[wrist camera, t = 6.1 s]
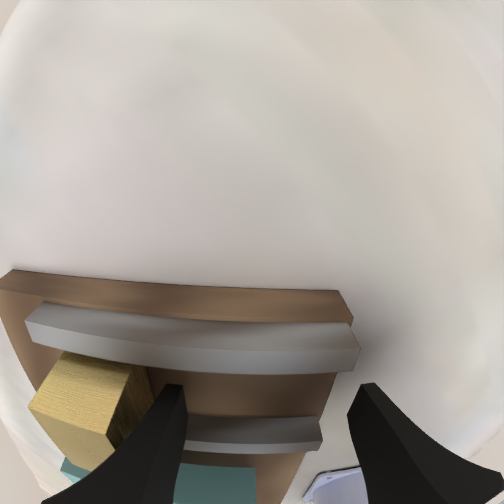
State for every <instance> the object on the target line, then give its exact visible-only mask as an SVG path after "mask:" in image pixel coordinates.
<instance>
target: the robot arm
mask: <svg viewBox="0 0 504 504" xmlns="http://www.w3.org/2000/svg"><path fill="white" fill-rule="evenodd" d="M347 418H348V424H349V430H350V435H351V438H352V442H353V445H354V448H355V451H356V454H357V458H358V461H359V464H360V467H359V468H354V469H348V470H343V471H336V472H330V473H323V474H320V475H318V476H317V478H316V479H315V481H314V482H313V484H312V485H311V487H310V488H309V490H308V491H307V493H306V494H305V496H304V497H303V498H302V501H303V502H310V501H314V504H485V503H487V502H488V501H489V500H491V499H492V498H494V497H495V496H496V495H498V494H499V493H500V492H502V491H503V490H504V479H503V477H502V475H501V473H500V472H497V471H493V470H490V469H487V468H483V467H481V466H479V465H476V464H474V463H471V462H469V461H467V460H465V459H463V458H461V457H459V456H458V455H456V454H454V453H452V452H451V451H449V450H448V449H446V448H444V447H443V446H442V445H440V444H439V443H437V442H436V441H435V440H433V439H432V438H431V437H429V436H428V435H427V434H426V433H425V432H423V431H422V430H421V429H420V428H419V427H418V426H417V425H415V424H414V423H413V422H412V421H411V420H410V419H409V418H408V417H407V416H406V415H405V414H404V413H403V412H402V411H401V410H400V409H399V408H398V407H397V406H396V405H395V404H394V403H393V402H392V401H391V400H390V398H389V397H388V396H387V395H386V394H385V393H384V392H383V391H382V390H381V389H380V388H379V387H378V386H377V385H376V384H375V383H367V384H361V385H360V387H359V390H358V392H357V394H356V396H355V399H354V401H353V403H352V405H351V407H350V409H349V411H348V413H347ZM187 422H188V412H187V407H186V401H185V395H184V389H183V385H178V384H169V383H167V384H165V385H164V387H163V388H162V390H161V392H160V393H159V395H158V397H157V398H156V400H155V401H154V403H153V404H152V406H151V407H150V409H149V410H148V412H147V413H146V414H145V416H144V417H143V418H142V420H141V421H140V422H139V424H138V425H137V426H136V428H135V429H134V430H133V431H132V432H131V433H130V435H129V436H128V437H127V438H126V439H125V441H124V442H123V443H122V444H121V445H120V446H119V447H118V448H117V449H116V450H115V451H114V452H113V453H112V454H111V455H110V456H109V457H108V458H107V459H106V460H105V461H104V462H102V463H101V464H100V465H99V466H98V467H97V468H95V469H94V470H93V471H92V472H90V473H89V474H88V475H86V476H85V477H84V478H82V479H81V480H79V481H78V482H76V483H75V484H73V485H72V486H70V487H68V488H67V489H65V490H63V491H61V492H59V493H58V494H56V495H54V496H52V497H50V498H47V499H46V500H43V501H42V502H41V504H173V498H174V490H175V484H176V479H177V475H178V470H179V466H180V462H181V457H182V453H183V448H184V444H185V440H186V432H187ZM499 504H504V501H502V502H501V503H499Z"/></svg>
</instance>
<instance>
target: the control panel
mask: <svg viewBox="0 0 504 504" xmlns="http://www.w3.org/2000/svg"><path fill="white" fill-rule="evenodd" d="M0 317H1V320H2V322H3V325H4V327H5V330H6V332H7V334H8V337H9V339H10V341H11V344H12V346H13V348H14V350H15V352H16V355H17V357H18V359H19V361H20V363H21V365H22V367H23V369H24V371H25V372H26V374H27V376H28V378H29V380H30V382H31V383H32V385H33V387H34V389H35V390H36V392H37V391H38V389H39V388H40V386H41V385H42V383H43V382H44V380H45V379H46V377H47V376H48V374H49V373H50V371H51V370H52V368H53V367H54V365H55V364H56V362H57V361H58V359H59V358H60V357H61V355H62V354H63V352H64V351H69V352H74V353H78V354H82V355H87V356H92V357H97V358H102V359H107V360H112V361H118V362H124V363H130V364H136V365H143V366H145V367H146V371H147V375H148V379H149V383H150V387H151V390H152V394H153V397H154V401H155V400H156V398H157V397H158V395H159V393H160V392H161V390H162V388H163V387H164V385H165V384H167V383H169V384H178V385H183V389H184V395H185V401H186V407H187V412H188V422H187V432H186V440H185V444H184V448H183V453H182V457H181V462H180V463H185V464H194V465H204V466H217V467H239V468H255V474H256V502H257V504H281V502H282V500H283V498H284V496H285V494H286V492H287V490H288V488H289V487H290V485H291V483H292V481H293V479H294V477H295V475H296V472H297V470H298V468H299V466H300V464H301V462H302V460H303V458H304V455H305V453H306V452H308V451H318V449H319V447H320V445H321V443H322V441H323V438H322V434H321V430H320V425H319V420H320V418H321V415H322V413H323V410H324V407H325V405H326V402H327V399H328V397H329V394H330V391H331V388H332V385H333V383H334V380H335V377H336V374H337V372H345V371H353V369H354V366H355V363H356V360H357V358H358V355H359V352H360V349H361V348H360V346H359V344H358V342H357V340H356V338H355V336H354V334H353V332H352V330H351V325H352V321H353V315H352V314H351V312H350V310H349V308H348V307H347V305H346V303H345V301H344V300H343V298H342V296H341V294H340V293H339V291H338V290H283V289H251V288H226V287H205V286H187V285H171V284H156V283H142V282H129V281H116V280H105V279H94V278H83V277H73V276H63V275H54V274H45V273H37V272H28V271H20V270H11V271H10V272H9V273H7V274H6V275H5V276H3V277H2V278H0Z"/></svg>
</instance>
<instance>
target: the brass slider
mask: <svg viewBox="0 0 504 504" xmlns="http://www.w3.org/2000/svg"><path fill="white" fill-rule="evenodd" d="M153 403H154V397H153V394H152V390H151V387H150V383H149V379H148V375H147V371H146V367H145V366H143V365H136V364H130V363H124V362H118V361H112V360H107V359H102V358H97V357H92V356H87V355H82V354H78V353H74V352H69V351H64V352H63V354H62V355H61V357H60V358H59V359H58V361H57V362H56V364H55V365H54V367H53V368H52V370H51V371H50V373H49V374H48V376H47V377H46V379H45V380H44V382H43V383H42V385H41V386H40V388H39V389H38V391H37V392H36V394H35V396H34V397H33V399H32V400H31V402H30V404H29V405H28V408H29V410H30V411H31V413H32V414H33V416H34V417H35V418H36V420H37V421H38V423H39V424H40V425H41V427H42V428H43V429H44V431H45V432H46V433H47V435H48V436H49V437H50V438H51V440H52V441H53V442H54V443H55V444H56V446H57V447H58V448H59V449H60V450H61V452H62V453H63V454H64V455H65V456H66V457H67V458H68V460H69V461H70V462H71V463H72V464H73V465H75V466H78V467H80V468H83V469H86V470H89V471H93V470H94V469H95V468H97V467H98V466H99V465H100V464H101V463H102V462H104V461H105V460H106V459H107V458H108V457H109V456H110V455H111V454H112V453H113V452H114V451H115V450H116V449H117V448H118V447H119V446H120V445H121V444H122V443H123V442H124V441H125V439H126V438H127V437H128V436H129V435H130V433H131V432H132V431H133V430H134V429H135V428H136V426H137V425H138V424H139V422H140V421H141V420H142V418H143V417H144V416H145V414H146V413H147V412H148V410H149V409H150V407H151V406H152V404H153Z"/></svg>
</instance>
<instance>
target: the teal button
mask: <svg viewBox="0 0 504 504" xmlns="http://www.w3.org/2000/svg"><path fill="white" fill-rule="evenodd" d="M60 471H61V472H62V473H63V474H64V475H65V476H66V477H68V478H69V479H70V480H71V481H72V482H73V483H74V484H75V483H76V482H78V481H79V480H81V479H82V478H84V477H85V476H86V475H88V474H89V473H90V472H92V471H89V470H86V469H83V468H80V467H78V466H75V465H73V464H72V463H71V462H70V461H69V460H68V458H67V457H65V459H64V462H63V464H62V467H61V469H60ZM173 504H257V502H256V474H255V468H239V467H217V466H204V465H194V464H185V463H180V466H179V470H178V475H177V479H176V484H175V490H174V498H173Z"/></svg>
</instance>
